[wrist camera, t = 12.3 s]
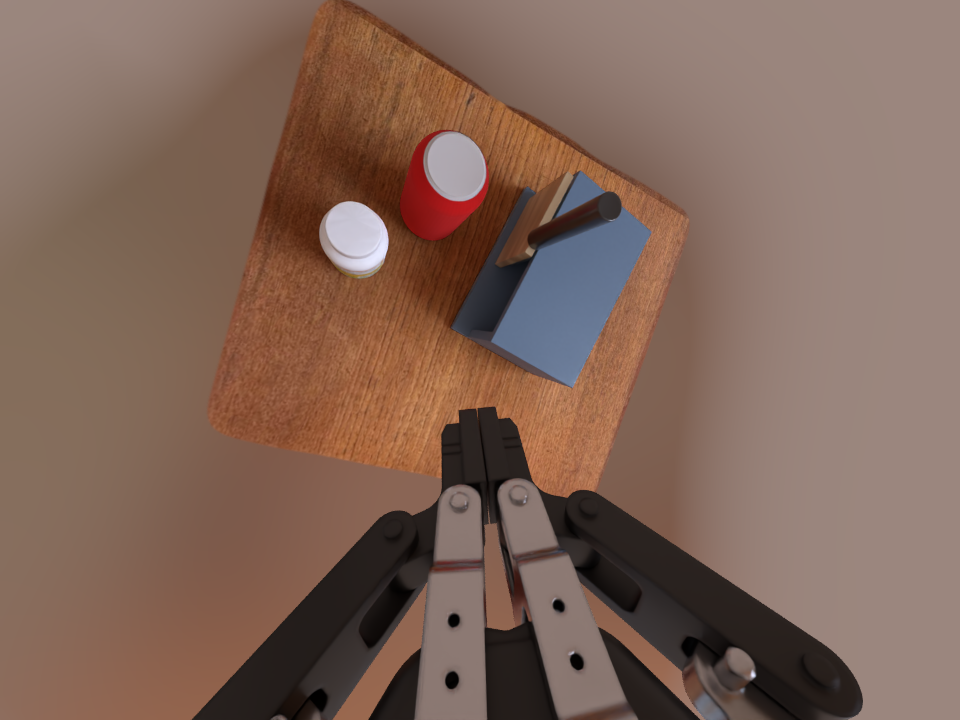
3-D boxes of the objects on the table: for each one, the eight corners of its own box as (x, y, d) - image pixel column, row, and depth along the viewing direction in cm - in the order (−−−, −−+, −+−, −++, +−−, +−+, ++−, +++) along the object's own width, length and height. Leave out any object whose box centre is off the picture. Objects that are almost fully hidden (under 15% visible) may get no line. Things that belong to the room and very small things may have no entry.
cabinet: (449, 328, 39) (472, 331, 30) (523, 189, 39) (564, 156, 31) (533, 374, 42) (572, 388, 34) (598, 247, 43) (652, 231, 35)
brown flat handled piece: (490, 261, 38) (589, 218, 21) (525, 195, 38) (650, 101, 21) (504, 270, 38) (610, 235, 22) (538, 205, 39) (668, 121, 22)
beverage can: (438, 171, 36) (471, 106, 25) (466, 227, 38) (509, 190, 26) (387, 195, 35) (397, 138, 24) (418, 252, 36) (441, 224, 25)
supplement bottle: (340, 213, 34) (330, 175, 25) (392, 239, 36) (401, 213, 26) (319, 264, 34) (301, 245, 25) (373, 288, 35) (375, 278, 26)
